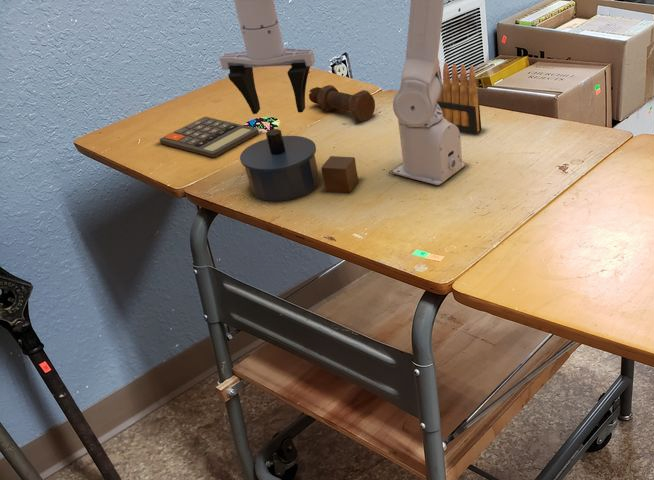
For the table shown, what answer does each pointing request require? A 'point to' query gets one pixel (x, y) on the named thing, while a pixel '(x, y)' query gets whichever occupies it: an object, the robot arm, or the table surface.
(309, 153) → the lid
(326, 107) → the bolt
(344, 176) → the block
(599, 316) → the table surface
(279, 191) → the pot
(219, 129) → the calculator
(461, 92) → the ammunition clip
